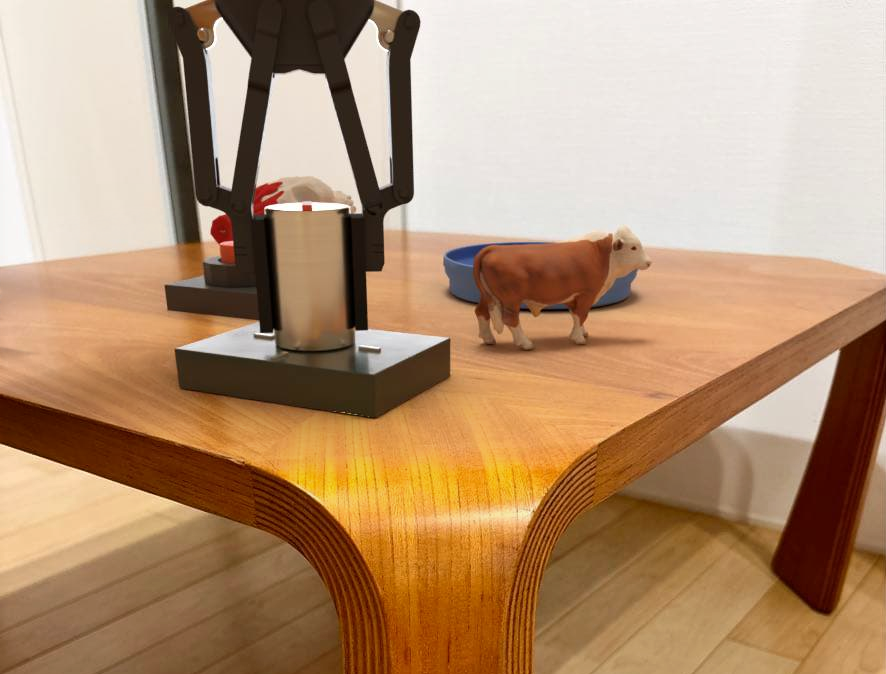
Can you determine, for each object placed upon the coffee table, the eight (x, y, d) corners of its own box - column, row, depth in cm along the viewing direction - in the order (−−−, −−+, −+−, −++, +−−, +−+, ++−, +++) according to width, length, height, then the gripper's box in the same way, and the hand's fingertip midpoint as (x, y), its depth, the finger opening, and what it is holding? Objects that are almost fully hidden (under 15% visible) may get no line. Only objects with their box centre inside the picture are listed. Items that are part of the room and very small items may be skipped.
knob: (276, 334, 59) (265, 197, 55) (353, 332, 60) (348, 196, 56) (273, 353, 54) (261, 205, 51) (357, 350, 55) (351, 204, 51)
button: (212, 265, 78) (210, 244, 77) (238, 259, 81) (236, 239, 80) (247, 268, 76) (245, 246, 76) (272, 262, 79) (270, 241, 79)
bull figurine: (651, 343, 68) (662, 228, 64) (478, 354, 65) (480, 234, 61) (625, 330, 71) (635, 221, 68) (460, 340, 68) (462, 226, 65)
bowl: (407, 288, 88) (406, 250, 87) (553, 272, 97) (555, 237, 96) (519, 321, 75) (520, 276, 73) (677, 299, 83) (681, 259, 82)
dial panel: (178, 388, 57) (173, 345, 56) (272, 353, 65) (269, 315, 64) (374, 418, 51) (373, 372, 50) (450, 376, 59) (450, 335, 58)
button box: (167, 310, 78) (161, 262, 77) (232, 293, 86) (228, 249, 84) (262, 321, 75) (258, 271, 73) (322, 302, 82) (319, 256, 80)
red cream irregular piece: (365, 254, 105) (247, 284, 98) (317, 242, 113) (205, 269, 106) (354, 171, 100) (229, 196, 93) (305, 165, 108) (187, 187, 101)
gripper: (87, -155, 42) (155, 345, 52) (473, -143, 44) (467, 336, 54) (119, -119, 49) (173, 318, 59) (452, -110, 51) (450, 311, 61)
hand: (314, 326), depth 57 cm, fingers closed on knob, 5 cm apart
